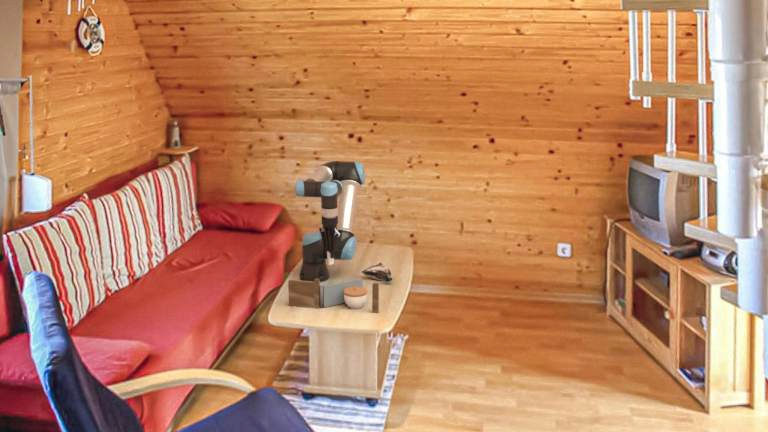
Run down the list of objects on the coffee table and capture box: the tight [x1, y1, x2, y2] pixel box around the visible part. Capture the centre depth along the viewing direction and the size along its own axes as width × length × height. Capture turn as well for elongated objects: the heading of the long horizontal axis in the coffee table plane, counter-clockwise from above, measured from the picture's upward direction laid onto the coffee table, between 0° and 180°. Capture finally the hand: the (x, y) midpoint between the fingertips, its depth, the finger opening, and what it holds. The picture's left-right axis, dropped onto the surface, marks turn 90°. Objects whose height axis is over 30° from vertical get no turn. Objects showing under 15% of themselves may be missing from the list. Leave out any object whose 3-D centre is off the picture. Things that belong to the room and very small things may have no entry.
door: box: [319, 277, 364, 309], centre depth 323 cm, size 2×22×10 cm, turn 121°
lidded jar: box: [343, 286, 368, 310], centre depth 320 cm, size 11×11×9 cm
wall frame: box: [287, 278, 380, 314], centre depth 316 cm, size 2×41×14 cm, turn 79°
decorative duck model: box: [361, 262, 396, 282], centre depth 352 cm, size 15×8×15 cm
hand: (330, 263), depth 332 cm, fingers closed
